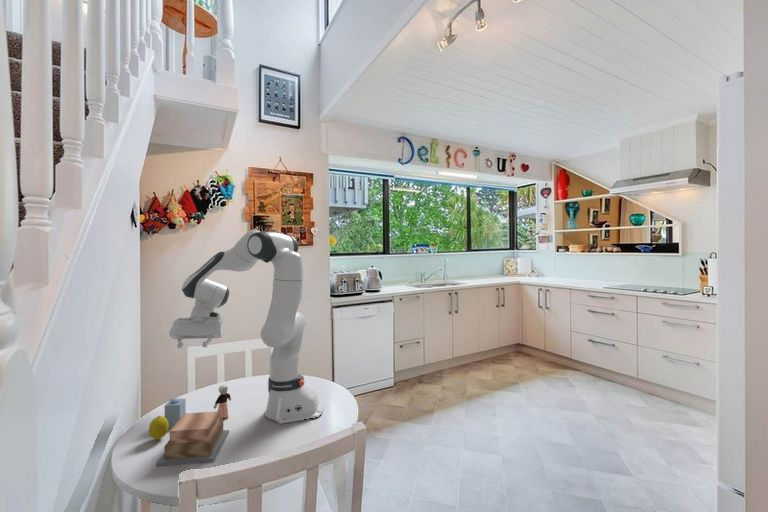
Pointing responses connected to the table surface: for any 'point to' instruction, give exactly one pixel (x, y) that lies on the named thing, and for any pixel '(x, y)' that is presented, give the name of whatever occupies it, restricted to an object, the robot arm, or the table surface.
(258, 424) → the table surface
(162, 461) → the baseplate
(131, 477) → the table surface
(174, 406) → the blue knobbed block
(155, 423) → the lemon
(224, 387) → the grandmother figurine
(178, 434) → the terracotta brick
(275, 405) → the robot arm
